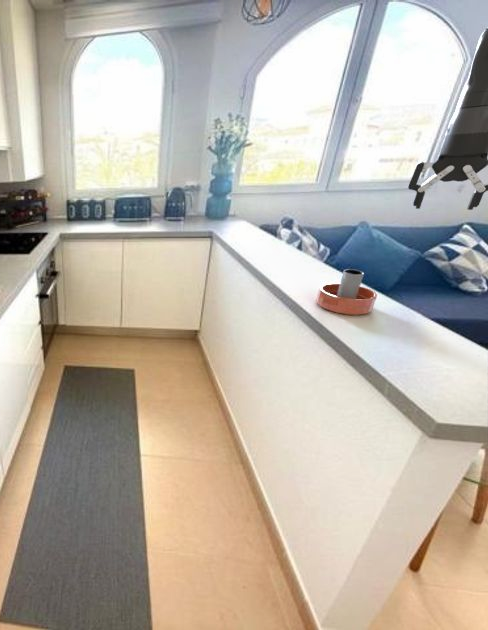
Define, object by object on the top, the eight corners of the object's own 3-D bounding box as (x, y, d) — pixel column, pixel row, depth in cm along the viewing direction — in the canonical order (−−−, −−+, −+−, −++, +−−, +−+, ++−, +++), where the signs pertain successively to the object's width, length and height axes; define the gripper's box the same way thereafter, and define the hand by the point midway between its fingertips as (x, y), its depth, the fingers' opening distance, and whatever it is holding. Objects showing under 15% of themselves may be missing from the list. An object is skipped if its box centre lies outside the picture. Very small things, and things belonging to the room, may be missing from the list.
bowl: (373, 303, 103) (378, 288, 100) (368, 320, 94) (374, 303, 92) (320, 294, 111) (324, 280, 109) (312, 309, 102) (316, 293, 100)
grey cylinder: (334, 306, 102) (344, 273, 97) (334, 300, 105) (343, 268, 100) (353, 309, 99) (364, 275, 95) (353, 303, 102) (363, 270, 98)
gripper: (520, 127, 72) (486, 207, 78) (424, 134, 81) (402, 205, 87) (527, 127, 67) (490, 212, 74) (425, 134, 76) (401, 210, 83)
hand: (442, 208), depth 81 cm, fingers open, 8 cm apart
